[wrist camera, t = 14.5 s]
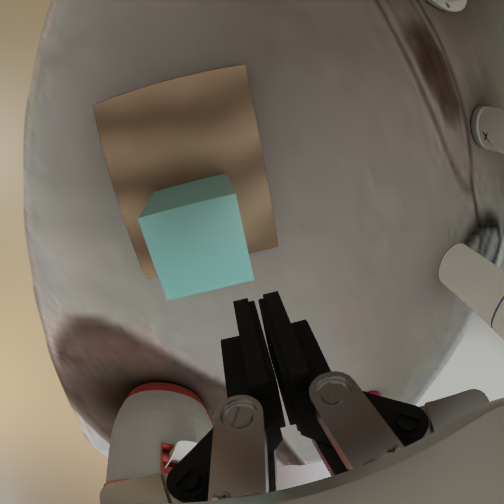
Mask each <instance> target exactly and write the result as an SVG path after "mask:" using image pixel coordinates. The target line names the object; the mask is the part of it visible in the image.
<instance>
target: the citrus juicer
mask: <svg viewBox="0 0 504 504" xmlns="http://www.w3.org/2000/svg"><path fill="white" fill-rule="evenodd" d="M212 428H213V426H212V423H211V421H210V418H209V416H208V413H207V410H206V408H205V406H204V405H203V403H202V402H201V400H200V399H199V397H198V396H197V395H196V394H195V393H193V392H192V391H190V390H189V389H187V388H184V387H182V386H179V385H175V384H171V383H163V382H154V383H147V384H142V385H140V386H138V387H136V388H134V389H133V390H132V391H131V392H130V394H129V395H128V396H127V397H126V399H125V400H124V401H123V404H122V406H121V408H120V410H119V412H118V414H117V417H116V420H115V422H114V426H113V430H112V435H111V441H110V449H109V457H108V467H107V477H106V483H105V484H104V486H106V485H107V484H109V483H112V482H117V481H123V480H128V479H133V478H138V477H142V476H147V475H151V474H155V473H161V474H164V473H168V472H170V471H171V469H172V468H173V467H174V466H175V465H176V464H177V463H178V462H179V461H180V460H181V459H182V458H184V457H185V456H186V455H187V454H188V453H189V452H190V451H191V450H192V449H193V448H194V446H195V445H196V444H197V443H198V442H199V441H200V440H201V439H202V438H203V437H204V436H205V435H206V434H207V433H208V432H209V431H210V430H211V429H212Z"/></svg>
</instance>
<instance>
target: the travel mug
mask: <svg viewBox="0 0 504 504" xmlns="http://www.w3.org/2000/svg"><path fill="white" fill-rule="evenodd" d="M471 130H472V135H473V138H474V140H475V142H476V143H477V144H478V145H479V146H480V147H482V148H486V149H489V150H493V151H496V152H500V153H503V154H504V109H500V108H494V107H487V106H478V107H477V108H476V109H475V110H474V112H473V114H472V119H471Z"/></svg>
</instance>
